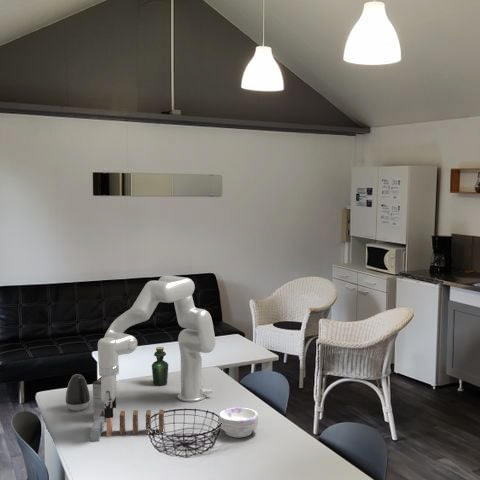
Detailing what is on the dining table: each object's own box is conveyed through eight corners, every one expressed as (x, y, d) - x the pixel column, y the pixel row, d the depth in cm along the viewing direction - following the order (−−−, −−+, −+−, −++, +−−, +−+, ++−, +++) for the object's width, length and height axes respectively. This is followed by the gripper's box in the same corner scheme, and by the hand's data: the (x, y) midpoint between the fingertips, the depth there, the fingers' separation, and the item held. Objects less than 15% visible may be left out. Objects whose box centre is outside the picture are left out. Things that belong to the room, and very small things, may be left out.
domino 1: (112, 430, 238) (112, 410, 237) (110, 435, 233) (110, 415, 232) (108, 430, 238) (107, 411, 237) (106, 436, 233) (106, 415, 232)
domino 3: (138, 429, 239) (137, 410, 238) (137, 435, 234) (136, 414, 233) (134, 430, 239) (133, 410, 238) (132, 435, 234) (132, 415, 233)
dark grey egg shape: (72, 415, 255) (71, 379, 253) (61, 408, 262) (60, 374, 261) (94, 409, 261) (93, 374, 260) (83, 402, 269) (82, 369, 268)
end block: (104, 426, 242) (103, 416, 242) (98, 441, 228) (98, 430, 228) (96, 426, 242) (96, 417, 242) (90, 441, 228) (90, 431, 228)
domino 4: (150, 429, 239) (150, 409, 239) (150, 434, 234) (149, 414, 234) (146, 429, 239) (146, 409, 238) (146, 434, 234) (145, 414, 234)
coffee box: (102, 412, 257) (101, 375, 256) (116, 413, 256) (116, 376, 254) (93, 420, 248) (92, 382, 247) (107, 422, 247) (107, 383, 246)
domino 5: (163, 429, 240) (163, 409, 239) (163, 434, 235) (162, 414, 234) (159, 429, 240) (159, 409, 239) (159, 434, 235) (158, 414, 234)
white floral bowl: (238, 422, 247) (238, 403, 246) (266, 433, 236) (266, 413, 235) (210, 433, 236) (210, 413, 235) (238, 444, 225) (238, 424, 224)
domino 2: (125, 430, 238) (125, 410, 238) (124, 435, 234) (123, 415, 233) (121, 430, 238) (120, 410, 238) (119, 435, 233) (119, 415, 233)
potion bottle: (161, 388, 289) (160, 351, 287) (148, 385, 293) (147, 348, 292) (172, 383, 296) (171, 347, 294) (159, 380, 300) (158, 345, 299)
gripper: (102, 363, 242) (103, 404, 244) (95, 377, 225) (97, 422, 226) (121, 362, 242) (122, 403, 244) (116, 377, 225) (117, 421, 227)
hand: (110, 412), depth 235 cm, fingers open, 9 cm apart
